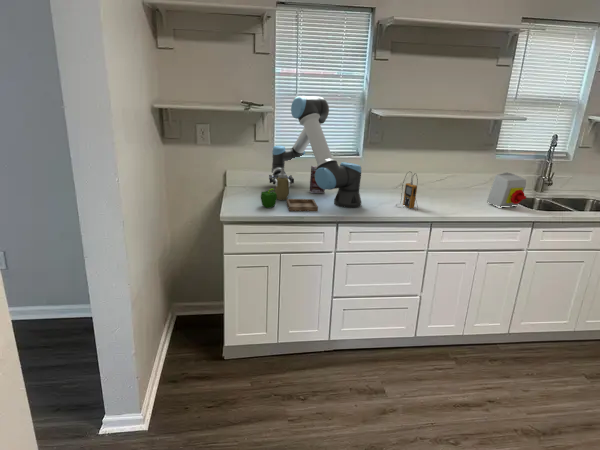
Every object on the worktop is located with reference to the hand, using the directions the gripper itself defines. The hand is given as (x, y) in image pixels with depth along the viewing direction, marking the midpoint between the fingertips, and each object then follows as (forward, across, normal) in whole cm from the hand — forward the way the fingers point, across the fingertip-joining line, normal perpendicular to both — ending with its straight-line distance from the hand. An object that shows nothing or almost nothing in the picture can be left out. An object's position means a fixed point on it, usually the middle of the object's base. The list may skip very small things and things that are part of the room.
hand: (283, 184), depth 231 cm
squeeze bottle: (-5, 0, -10) cm, 11 cm away
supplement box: (-22, -23, -10) cm, 33 cm away
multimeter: (+9, -67, -10) cm, 68 cm away
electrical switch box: (+6, -131, -10) cm, 132 cm away
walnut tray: (+11, -9, -10) cm, 17 cm away
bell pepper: (+11, +8, -10) cm, 17 cm away
